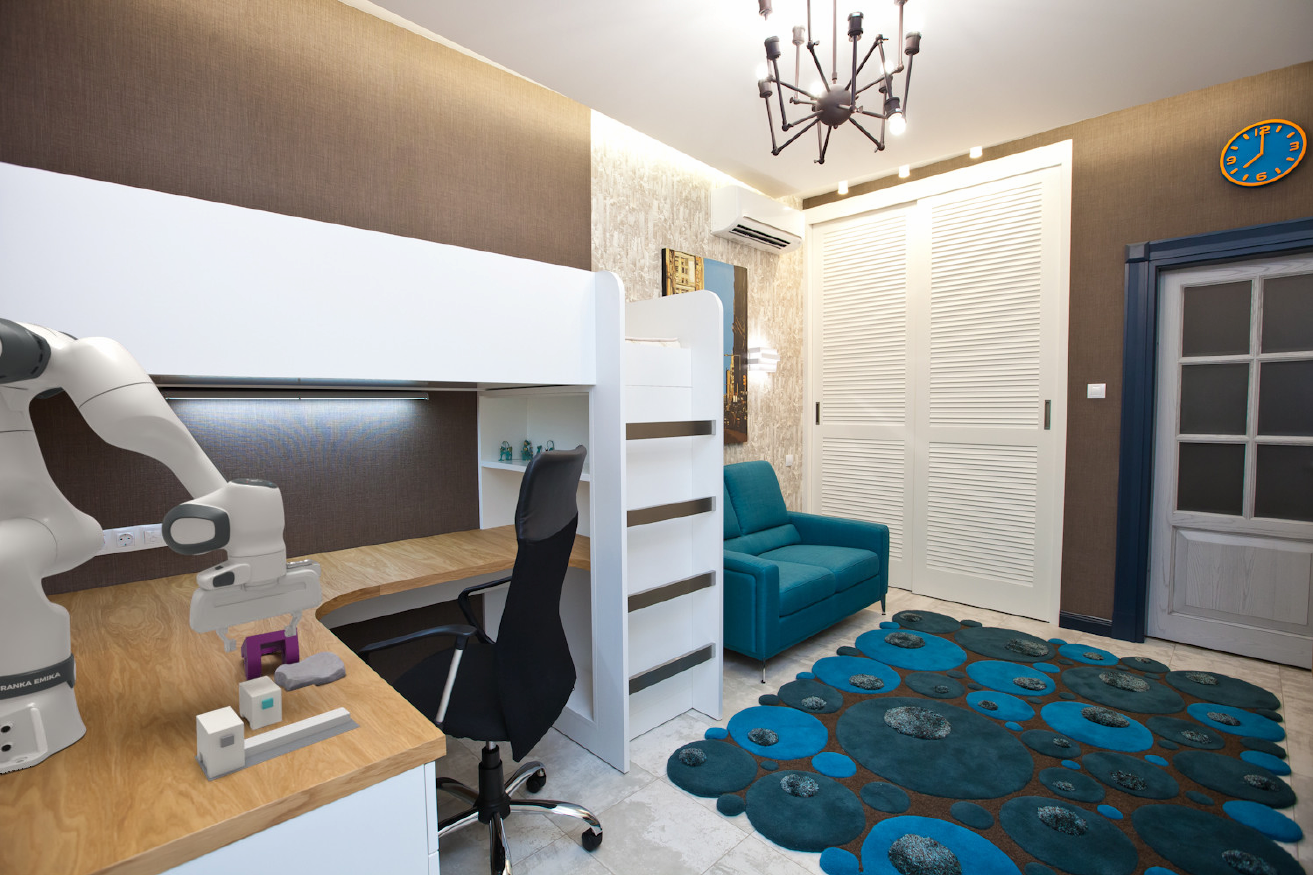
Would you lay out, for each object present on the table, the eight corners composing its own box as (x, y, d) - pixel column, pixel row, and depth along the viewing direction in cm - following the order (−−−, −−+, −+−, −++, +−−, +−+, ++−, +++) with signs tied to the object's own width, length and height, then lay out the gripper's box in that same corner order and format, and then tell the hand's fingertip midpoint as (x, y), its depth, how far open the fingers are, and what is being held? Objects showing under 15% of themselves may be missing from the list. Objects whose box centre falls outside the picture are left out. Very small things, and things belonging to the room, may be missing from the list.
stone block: (350, 684, 131) (330, 663, 137) (351, 664, 130) (330, 644, 136) (290, 706, 122) (271, 683, 128) (290, 685, 121) (271, 663, 127)
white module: (253, 736, 106) (253, 698, 106) (239, 719, 112) (239, 683, 112) (283, 727, 109) (282, 689, 109) (267, 710, 115) (267, 675, 115)
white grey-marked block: (210, 779, 91) (209, 735, 91) (197, 757, 98) (196, 715, 97) (245, 767, 95) (244, 724, 94) (230, 746, 101) (229, 705, 101)
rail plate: (209, 787, 91) (208, 771, 91) (194, 762, 98) (194, 747, 98) (360, 731, 107) (360, 717, 107) (339, 713, 114) (338, 700, 114)
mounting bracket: (241, 688, 139) (248, 677, 126) (239, 650, 141) (245, 636, 128) (289, 677, 144) (300, 665, 132) (286, 641, 147) (296, 627, 134)
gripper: (314, 554, 120) (317, 624, 120) (185, 576, 105) (189, 655, 105) (326, 559, 115) (329, 631, 116) (193, 582, 100) (197, 664, 101)
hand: (261, 642), depth 110 cm, fingers open, 8 cm apart
